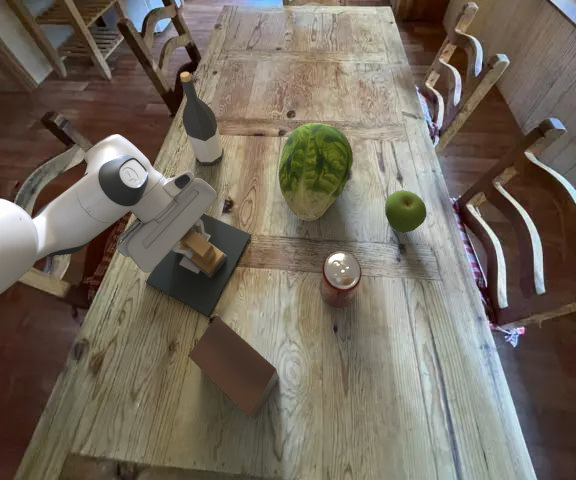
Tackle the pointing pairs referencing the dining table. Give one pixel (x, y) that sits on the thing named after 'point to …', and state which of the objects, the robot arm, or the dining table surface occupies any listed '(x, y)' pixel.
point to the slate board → (189, 279)
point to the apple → (405, 211)
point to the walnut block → (235, 367)
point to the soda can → (340, 278)
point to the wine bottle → (200, 125)
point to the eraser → (202, 253)
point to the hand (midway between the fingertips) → (198, 247)
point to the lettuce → (314, 169)
